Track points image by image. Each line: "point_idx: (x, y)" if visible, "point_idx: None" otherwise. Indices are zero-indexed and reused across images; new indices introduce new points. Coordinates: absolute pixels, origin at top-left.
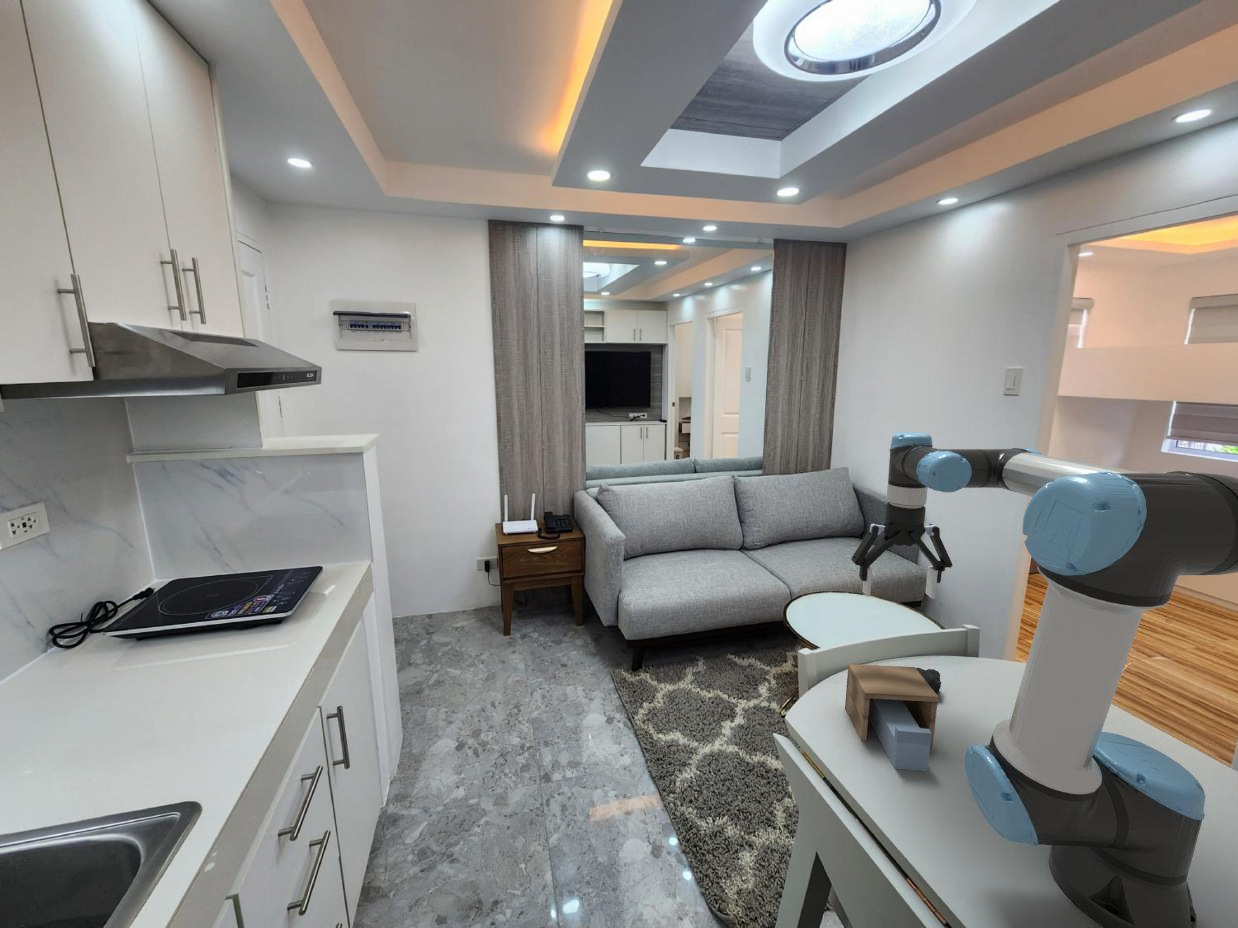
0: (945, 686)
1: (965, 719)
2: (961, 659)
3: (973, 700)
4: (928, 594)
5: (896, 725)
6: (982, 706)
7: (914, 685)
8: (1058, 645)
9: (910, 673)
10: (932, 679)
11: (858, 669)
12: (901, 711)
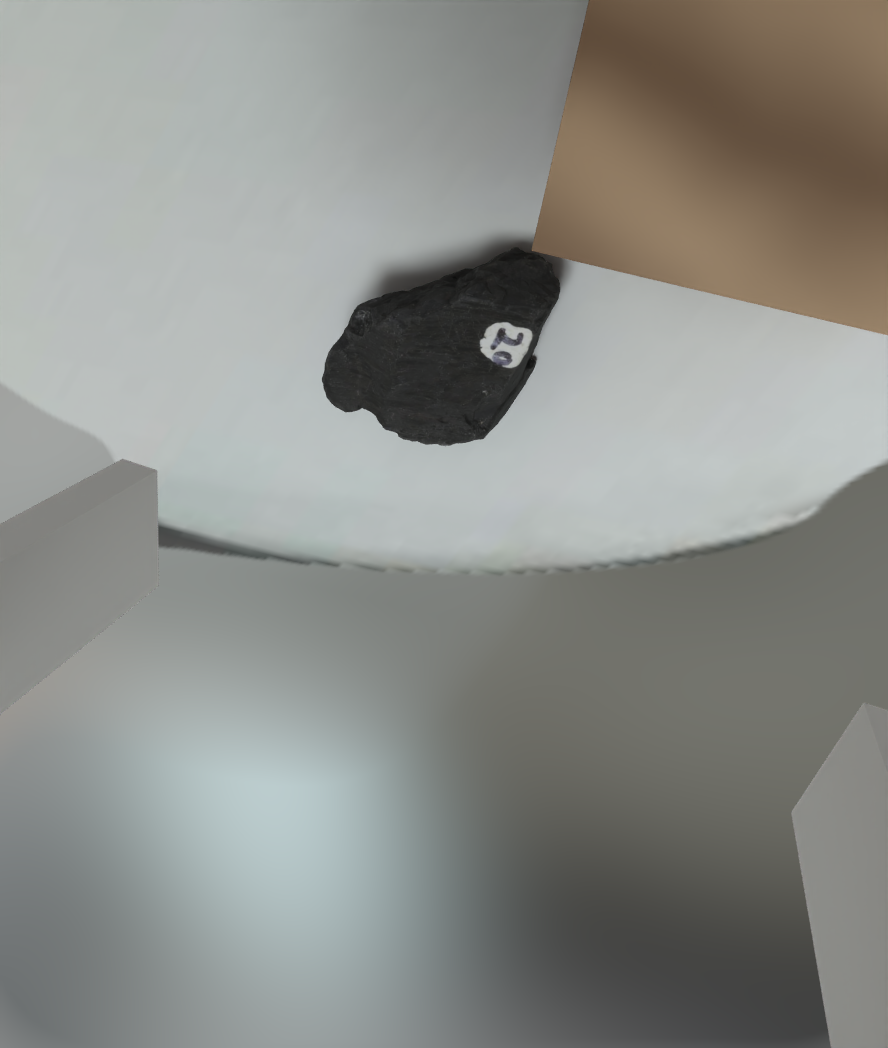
0: (311, 367)
1: (365, 146)
2: (159, 502)
3: (258, 264)
4: (148, 538)
5: None
6: (246, 222)
7: (690, 29)
8: None
9: (612, 180)
10: (393, 312)
11: None
12: None
